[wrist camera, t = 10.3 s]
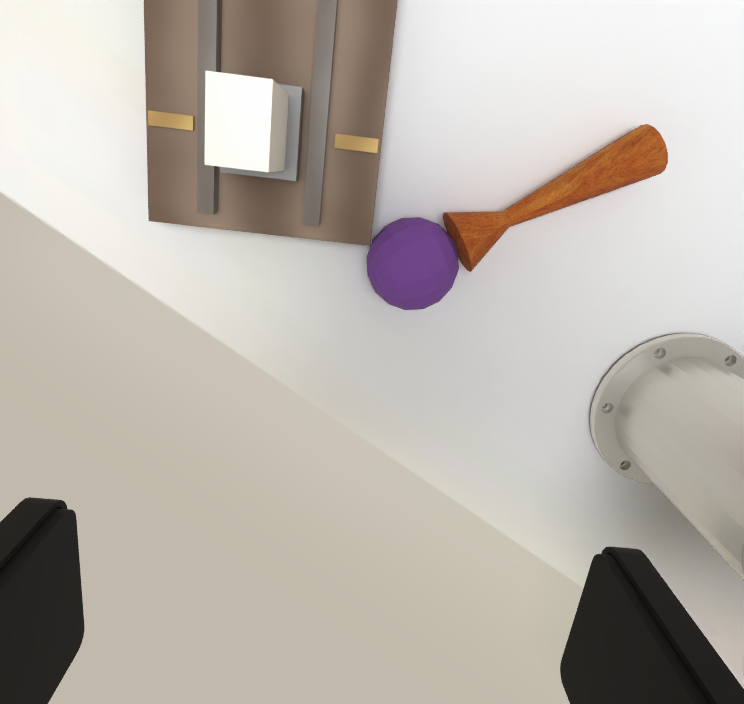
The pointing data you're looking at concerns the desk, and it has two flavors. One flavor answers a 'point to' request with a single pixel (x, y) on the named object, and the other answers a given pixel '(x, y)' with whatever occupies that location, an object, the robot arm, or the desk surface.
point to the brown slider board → (285, 66)
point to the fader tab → (253, 126)
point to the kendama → (497, 223)
